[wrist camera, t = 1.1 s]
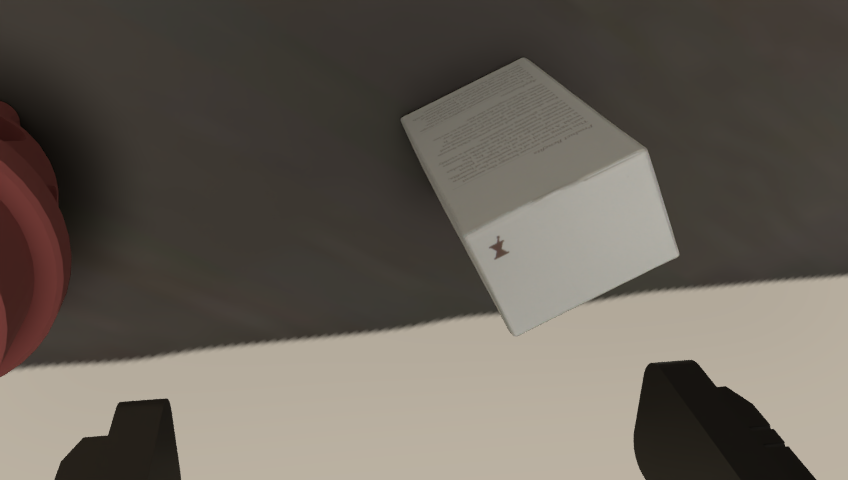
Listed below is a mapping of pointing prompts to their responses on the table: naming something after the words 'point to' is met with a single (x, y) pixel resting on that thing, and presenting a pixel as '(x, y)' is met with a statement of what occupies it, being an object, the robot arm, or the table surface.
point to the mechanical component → (28, 243)
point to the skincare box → (541, 192)
